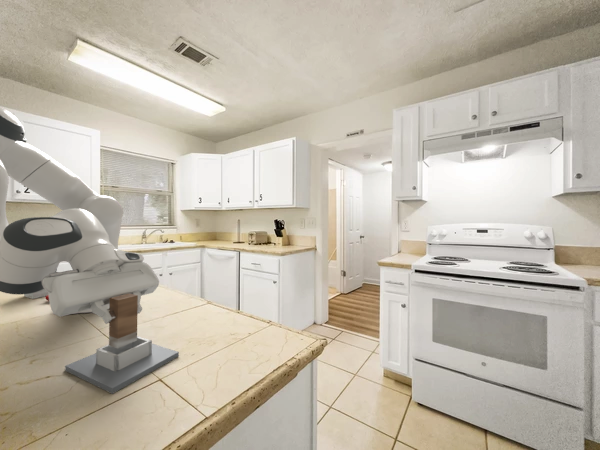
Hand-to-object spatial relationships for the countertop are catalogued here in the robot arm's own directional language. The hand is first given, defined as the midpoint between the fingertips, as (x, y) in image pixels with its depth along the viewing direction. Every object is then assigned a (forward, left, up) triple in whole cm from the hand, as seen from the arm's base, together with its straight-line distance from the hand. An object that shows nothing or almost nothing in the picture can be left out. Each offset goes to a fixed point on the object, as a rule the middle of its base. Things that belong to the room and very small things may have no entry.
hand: (125, 316), depth 54 cm
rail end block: (-1, 0, -6) cm, 6 cm away
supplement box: (-80, +15, -11) cm, 82 cm away
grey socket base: (-1, 0, -10) cm, 10 cm away
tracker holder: (-65, +18, -11) cm, 68 cm away
